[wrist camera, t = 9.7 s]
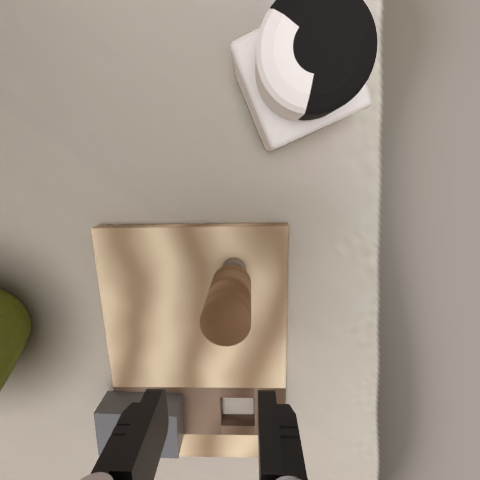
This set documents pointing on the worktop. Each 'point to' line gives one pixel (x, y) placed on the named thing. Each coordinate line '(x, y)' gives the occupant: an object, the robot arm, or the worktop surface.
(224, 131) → the worktop surface
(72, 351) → the worktop surface
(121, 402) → the block
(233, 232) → the subfloor panel
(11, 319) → the flower pot
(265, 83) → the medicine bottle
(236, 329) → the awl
